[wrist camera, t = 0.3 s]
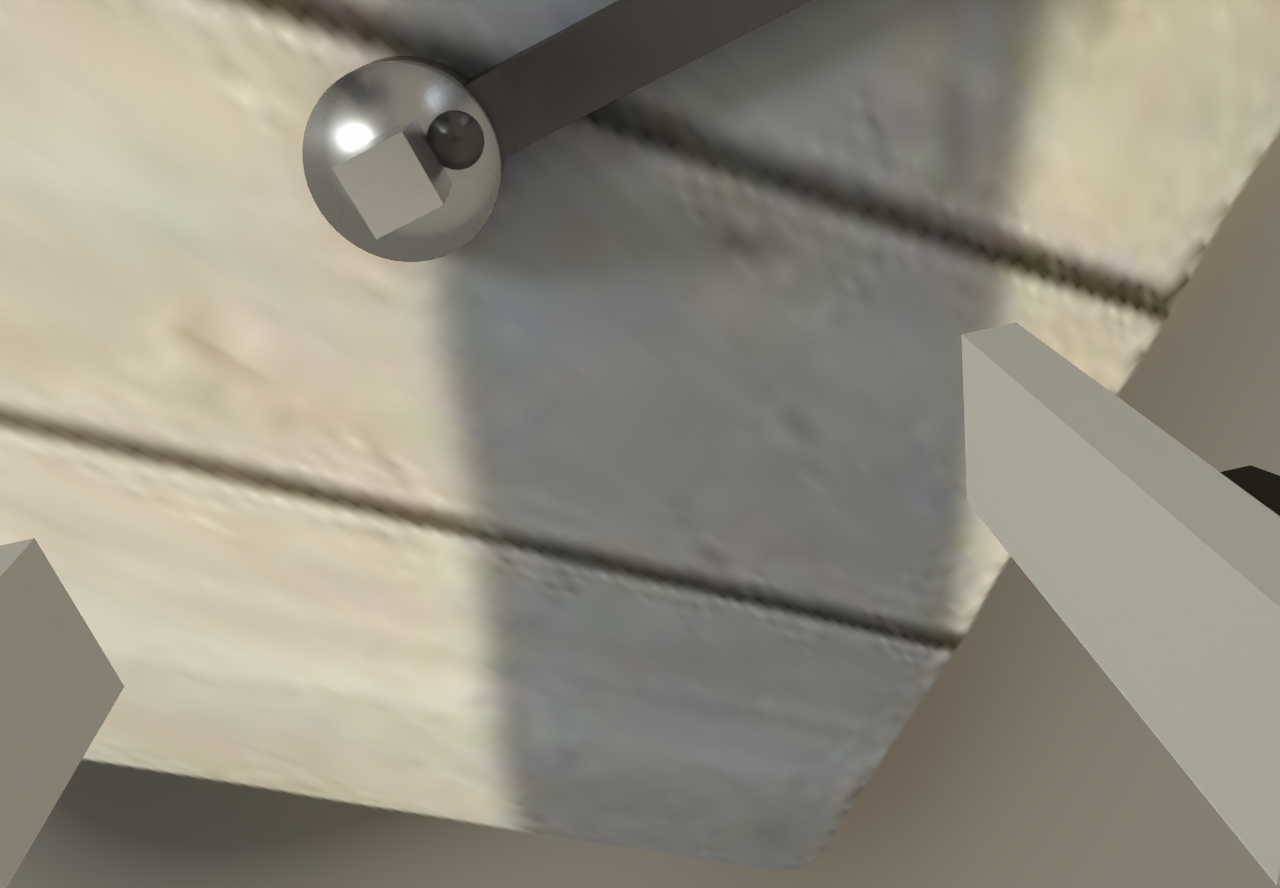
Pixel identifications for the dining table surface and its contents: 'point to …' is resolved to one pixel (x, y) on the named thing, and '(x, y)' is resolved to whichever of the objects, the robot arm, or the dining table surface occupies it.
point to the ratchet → (487, 118)
